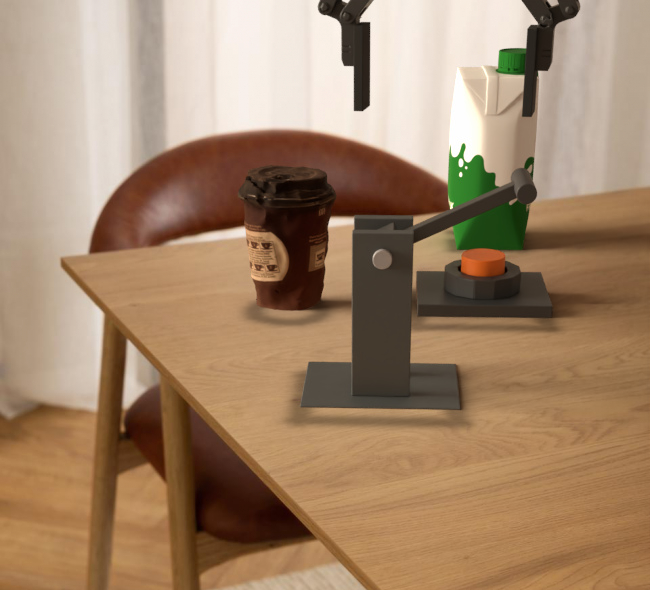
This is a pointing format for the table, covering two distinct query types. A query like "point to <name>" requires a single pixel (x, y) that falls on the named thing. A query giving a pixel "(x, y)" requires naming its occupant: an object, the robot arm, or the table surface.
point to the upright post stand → (381, 332)
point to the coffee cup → (287, 234)
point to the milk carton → (490, 149)
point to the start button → (483, 262)
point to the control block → (482, 294)
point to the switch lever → (476, 206)
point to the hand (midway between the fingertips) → (443, 111)
